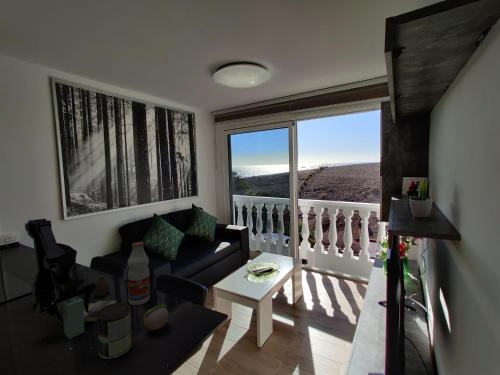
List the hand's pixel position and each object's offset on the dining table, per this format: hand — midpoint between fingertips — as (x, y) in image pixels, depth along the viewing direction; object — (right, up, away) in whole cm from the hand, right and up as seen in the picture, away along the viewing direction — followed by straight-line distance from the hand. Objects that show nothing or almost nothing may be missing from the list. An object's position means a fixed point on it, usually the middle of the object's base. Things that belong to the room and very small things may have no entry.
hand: (75, 317), depth 95 cm
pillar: (-1, -7, +1) cm, 7 cm away
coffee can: (+19, -8, -6) cm, 21 cm away
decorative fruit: (+30, -7, +4) cm, 31 cm away
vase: (-8, -4, +30) cm, 31 cm away
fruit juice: (+13, -5, +25) cm, 29 cm away
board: (-2, -5, +14) cm, 15 cm away
